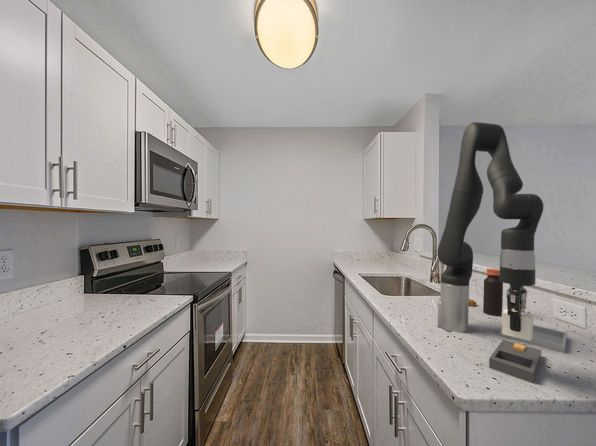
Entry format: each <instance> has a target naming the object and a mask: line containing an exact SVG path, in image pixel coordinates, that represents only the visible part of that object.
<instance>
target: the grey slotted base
mask: <svg viewBox="0 0 596 446" xmlns="http://www.w3.org/2000/svg"><path fill="white" fill-rule="evenodd" d="M541 358H542V350H541V349H538V348H536V347H531V346H528V345H524V344H521V343H517V342H513V341H510V340H507V339H502V340H501V342H500V343H499V344H498V345H497V347H496V348H495V350H494V351H493V352H492V354H491V356H490V357H489V361H488V363H489V364H488V368H490V369H491V370H495V371H498V372H501V373H503V374H505V375H508V376H512V377H515V378H517V379H520V380H523V381H525V382H526V381H527V382H528V383H531V384H534V381H535V378H536V376H537V372H538V370H539V366H540V363H541Z"/></svg>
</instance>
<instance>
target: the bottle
mask: <svg viewBox="0 0 596 446" xmlns="http://www.w3.org/2000/svg"><path fill="white" fill-rule="evenodd" d="M486 275H487V277H485V278H484V279H483V302H482V303H483V305H482V306H483V309H482V312H483V314H485V315H489V316H492V317H502V312H503V306H504V305H503V301H504V298H503V296H504V283H503V282H501V281H500V269H496V268H486Z"/></svg>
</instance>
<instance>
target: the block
mask: <svg viewBox="0 0 596 446" xmlns="http://www.w3.org/2000/svg"><path fill="white" fill-rule="evenodd" d="M512 311H514V310H512ZM507 312H508V308H505V309H502V316H501V328H502V334H504V335H508V336H512V337H516V338H520V339H524V340H528V341H531V339H532V337H533V325H534V320H533V319H534V314H532V313H528V312H521V315H522V317H521V331H520V332H517V331H512V330H511V329H510V316H509V315H508V314H507ZM514 312H517V311H514Z"/></svg>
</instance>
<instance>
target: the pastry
mask: <svg viewBox="0 0 596 446" xmlns="http://www.w3.org/2000/svg"><path fill="white" fill-rule="evenodd" d="M469 307H477V302H476V301H475V300H474V299H470V298H469Z"/></svg>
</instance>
